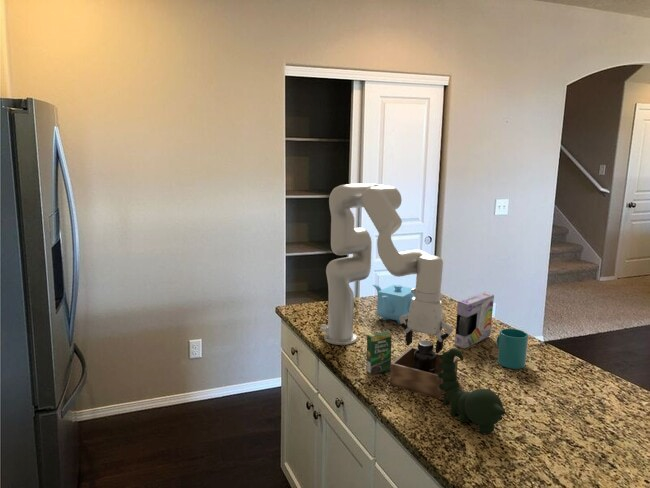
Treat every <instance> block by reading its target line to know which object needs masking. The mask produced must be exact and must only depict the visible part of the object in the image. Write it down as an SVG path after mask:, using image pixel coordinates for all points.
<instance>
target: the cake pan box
mask: <svg viewBox="0 0 650 488" xmlns="http://www.w3.org/2000/svg"><path fill="white" fill-rule="evenodd" d="M494 298H495V294H493V293H489V292H486V291H484V292H480V293H479V294H474V295H471V296H468V297H467V298H464V299H461V300H458V301H457V309H456V310H457V311H456V322H455V334H454V335H455V336H454V346H456V347H457V348H458V347H459V348H461V349H467V348H469V347H471V346H473V345H475V344H477V343H479V342H481V341H483V340H485V339H487V338H489V337H491V329H492V322H493V321H492V318H493V310H494V309H493V308H494Z"/></svg>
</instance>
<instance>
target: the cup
mask: <svg viewBox="0 0 650 488" xmlns="http://www.w3.org/2000/svg"><path fill="white" fill-rule="evenodd" d="M528 341H529V334H528V333H527V332H526V331H524V330H521V329H517V328H503V329H501V330H500V331H499V335H498V336H497V337H496V346H497V348H498V349H497V350H498V352H497V362H498V364H499V365H500V366H502V367H504V368H507V369H511V370H520V369H523V368H525V367H526V362H527V353H528Z"/></svg>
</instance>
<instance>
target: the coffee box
mask: <svg viewBox="0 0 650 488" xmlns="http://www.w3.org/2000/svg"><path fill="white" fill-rule="evenodd" d="M391 360H392V333H391V332H389V331H388V330H386V331H381V332H376V333H371V334H366V372H367V373H368V374H369V375H371V376H372V375H377V374H379V373H385V372H390V364H391V363H392V361H391Z"/></svg>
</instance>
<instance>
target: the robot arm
mask: <svg viewBox="0 0 650 488" xmlns="http://www.w3.org/2000/svg"><path fill="white" fill-rule="evenodd" d="M402 199H403V198H402V195H401V192H400V191H399V190H398V189H397V188H396V187H395V186H391V185H385V184H377V183H349V184H348V183H346V184H340V185H338V186H335V187H334V188H333V189H332V191H331V192H330V194H329V199H328V204H329V206H328V207H329V211H330V216H331V217H330V219H331V220H330V221H331V222H330V247H331V251H332V253H333V254H335V255H336V256H346V257H340V258H339V257H338V258H336V259H332V260H330V261H329V262H328V264H327V265H326V268H325V273H326V279H327V286H328V287H327V288H328V316H327V317H328V324H325V323H322V324H320V329H319V330H320V331H321V332H325V333H324V335H323V340H324V341H325V342H327V343H329V344H332V345H336V346H337V345H339V346H347V345H351V344H354V343H355V342H357V340H358V335H357V334H356V333H354V305H355V304H354V303H355V301H354V299H355V295H354V291H353V289H352V288H351V286H350V283H354V282H359V281H363V280H366V279H367V278H368V277H369V275H370V274H371V269H372V247H373V246H372V237H371V235H370V232H369V231H368V230H367V229H365V228H363V227H355V215H354V214H353V211H352V210H351V209H357V208H358V209H359V208H364V211H366V213H367V215H368V218H370V220H371V222H372V223H373V226H374V227H375V229H376V230H377V233H378V235H377V241H376V246H377V253H378V256H379V258H380V260H381V262H382V264H383V265H384V268H386V270H387V271H388V272H389V273H390V274H391V275H392V276H394V277H399V278H400V277H405V276H409V275H416V278H415V279H416V280H415V288H413V289H412V290H411V293H413V294H414V297H413V298H412V301H411V305H410V309H409V314H407V315H403V316H401V317H399V320H400V323H401V324H400V326H401V327H402V329H403V330H404V333H405V339H404V340H405V345H406V346H410V345H411V344H412V343H413V336H414V332H418V333H422V334H425V335H430V336H431V335H432V336H435V337H436V338H437V340H436V344H435V353H439V354H440V352H441V351H442V350H443V348H444V340H445V339H447V338H448V337H450V335H451V333H453V331H454V328H453V327H452V326H450V324H448V323H447V322H445V321H444V308H443V302H442V300H441V294H442V293H441V292H442V291H441V288H442V280H443V279H442V277H443V265H444V262H443V259H442V257H440V256H437V255H433V254H430V253H428V252H426V251H424V250H421V249H411V250H403V251H398V249H397V248H396V246H395V244H394V243H393V239H392V235H393V234H395V233H396V232H397V231H398V230H399V229H400V227H402V222H403V221H402V218H401V217H400V214H399V213H398V212H397V210H398V209H399V208H400V207H401V204H402ZM348 255H352V256H348ZM405 319H406V320H407V321H406V320H405ZM443 329H445V330H446V332H445V333H444V332H443ZM413 331H414V332H413Z"/></svg>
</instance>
